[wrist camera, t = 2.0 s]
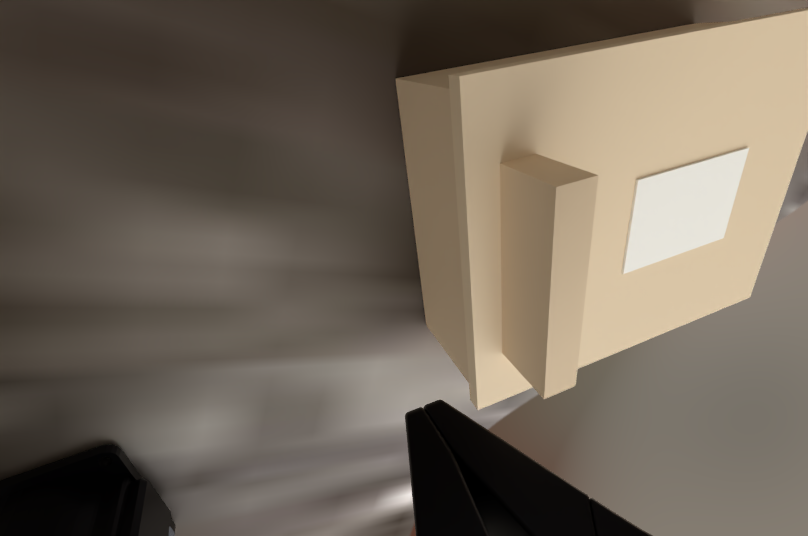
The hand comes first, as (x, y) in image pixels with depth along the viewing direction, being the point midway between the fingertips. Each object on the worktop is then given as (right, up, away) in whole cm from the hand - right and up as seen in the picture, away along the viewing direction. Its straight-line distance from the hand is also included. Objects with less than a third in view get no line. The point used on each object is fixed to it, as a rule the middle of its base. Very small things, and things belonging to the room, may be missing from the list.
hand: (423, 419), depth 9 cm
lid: (+8, +5, +7) cm, 12 cm away
